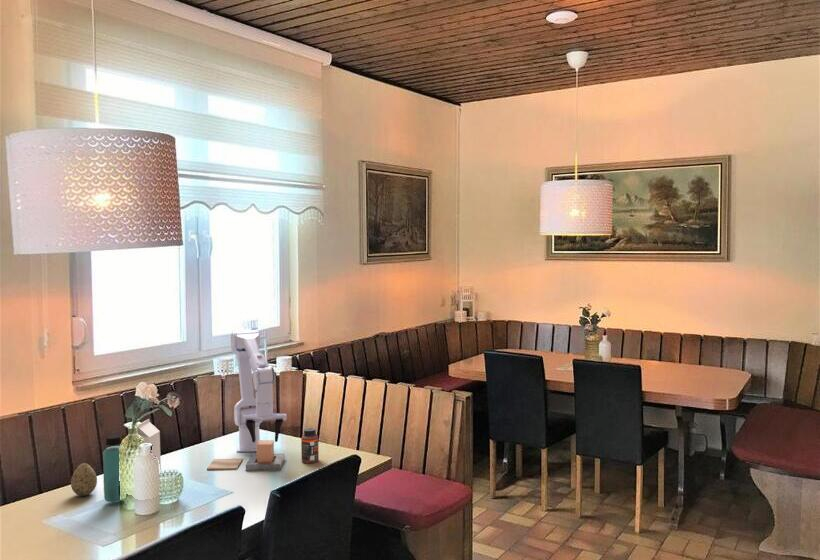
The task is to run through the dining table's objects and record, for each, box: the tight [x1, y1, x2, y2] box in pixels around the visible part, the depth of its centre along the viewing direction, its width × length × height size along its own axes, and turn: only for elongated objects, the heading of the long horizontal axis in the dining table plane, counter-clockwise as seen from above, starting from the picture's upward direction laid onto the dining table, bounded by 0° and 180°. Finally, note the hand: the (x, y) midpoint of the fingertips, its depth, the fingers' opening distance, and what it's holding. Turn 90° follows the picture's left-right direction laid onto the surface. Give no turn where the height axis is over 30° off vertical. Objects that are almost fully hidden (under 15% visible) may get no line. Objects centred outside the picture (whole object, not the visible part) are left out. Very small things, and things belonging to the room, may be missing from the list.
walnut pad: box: [206, 458, 244, 471], centre depth 231 cm, size 10×10×1 cm
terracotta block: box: [256, 439, 275, 462], centre depth 231 cm, size 5×5×8 cm
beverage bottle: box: [102, 434, 122, 503], centre depth 198 cm, size 6×7×20 cm
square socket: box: [245, 453, 286, 472], centre depth 231 cm, size 12×12×2 cm
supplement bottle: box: [300, 427, 320, 464], centre depth 235 cm, size 6×6×11 cm
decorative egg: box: [70, 462, 98, 497], centre depth 204 cm, size 7×7×10 cm
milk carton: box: [138, 418, 162, 471], centre depth 218 cm, size 7×7×19 cm
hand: (265, 441), depth 231 cm, fingers open, 7 cm apart
